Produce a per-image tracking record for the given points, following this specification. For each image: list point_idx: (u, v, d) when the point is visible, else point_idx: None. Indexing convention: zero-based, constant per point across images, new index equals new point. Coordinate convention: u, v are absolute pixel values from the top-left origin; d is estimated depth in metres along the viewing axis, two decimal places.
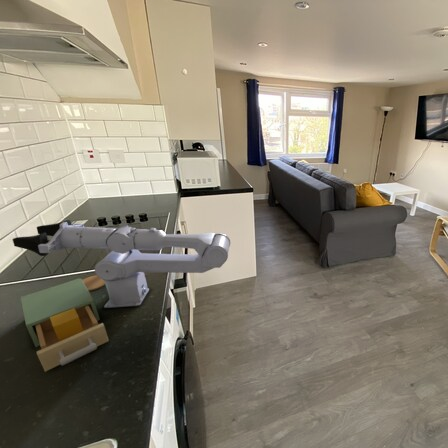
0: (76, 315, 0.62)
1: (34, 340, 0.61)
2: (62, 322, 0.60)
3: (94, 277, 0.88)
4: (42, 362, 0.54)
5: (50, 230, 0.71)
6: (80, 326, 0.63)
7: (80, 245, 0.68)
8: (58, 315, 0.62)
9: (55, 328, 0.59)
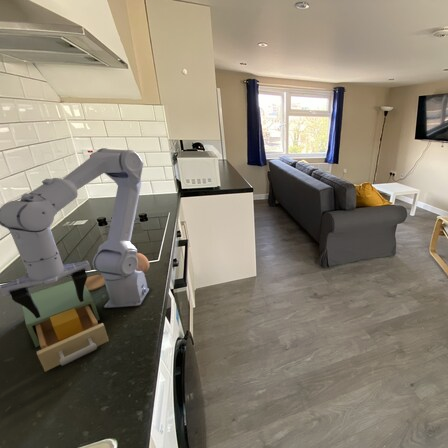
0: (76, 315, 0.62)
1: (34, 340, 0.61)
2: (62, 322, 0.60)
3: (94, 277, 0.88)
4: (42, 362, 0.54)
5: (34, 304, 0.57)
6: (80, 326, 0.63)
7: None
8: (58, 315, 0.62)
9: (55, 328, 0.59)
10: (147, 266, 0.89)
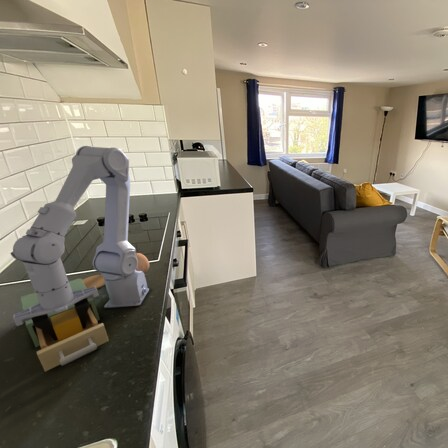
0: (76, 315, 0.62)
1: (34, 340, 0.61)
2: (62, 322, 0.60)
3: (94, 277, 0.88)
4: (42, 362, 0.54)
5: (52, 328, 0.61)
6: (80, 326, 0.63)
7: None
8: (59, 315, 0.62)
9: (55, 328, 0.59)
10: (147, 266, 0.89)
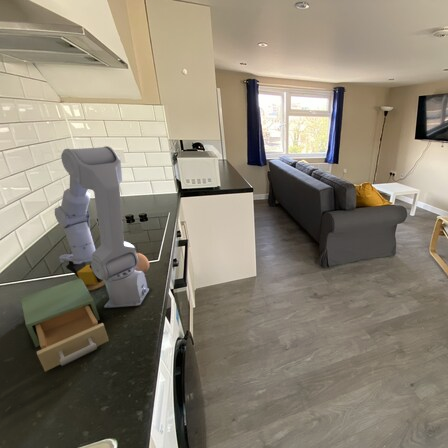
0: None
1: (34, 340, 0.61)
2: (83, 271, 0.82)
3: None
4: (42, 362, 0.54)
5: None
6: (93, 279, 0.83)
7: (92, 242, 0.81)
8: None
9: (78, 273, 0.82)
10: (147, 266, 0.89)
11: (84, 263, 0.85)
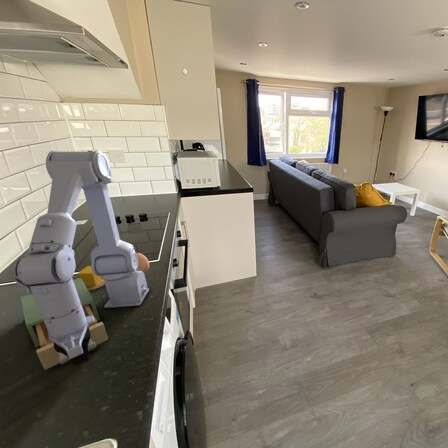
0: None
1: (34, 340, 0.61)
2: (83, 273, 0.82)
3: None
4: (42, 360, 0.54)
5: None
6: (93, 280, 0.83)
7: None
8: (90, 267, 0.85)
9: (78, 275, 0.82)
10: (147, 266, 0.89)
11: None
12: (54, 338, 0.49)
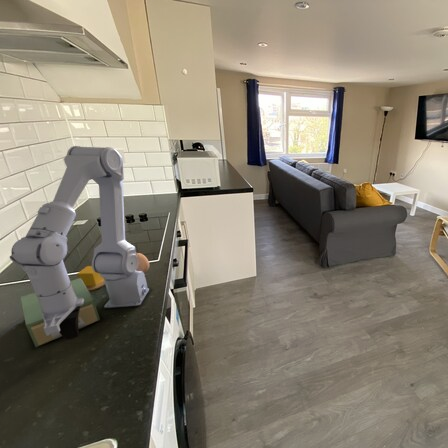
0: (93, 271, 0.83)
1: (34, 340, 0.61)
2: (83, 273, 0.82)
3: None
4: (36, 336, 0.60)
5: None
6: (93, 280, 0.83)
7: None
8: (90, 267, 0.85)
9: (78, 275, 0.82)
10: (147, 266, 0.89)
11: None
12: (43, 313, 0.55)
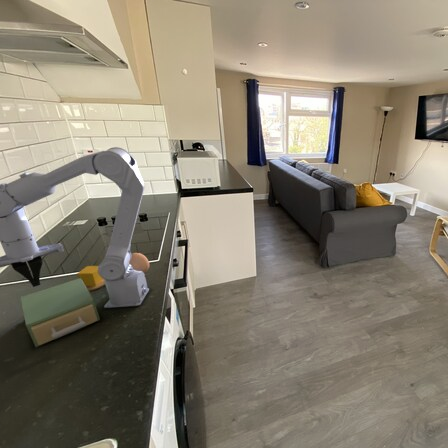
0: (93, 271, 0.83)
1: (34, 340, 0.61)
2: (83, 273, 0.82)
3: None
4: (36, 336, 0.60)
5: None
6: (93, 280, 0.83)
7: None
8: (90, 267, 0.85)
9: (78, 275, 0.82)
10: (147, 266, 0.89)
11: None
12: None
